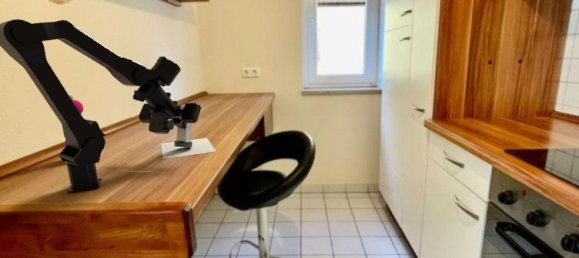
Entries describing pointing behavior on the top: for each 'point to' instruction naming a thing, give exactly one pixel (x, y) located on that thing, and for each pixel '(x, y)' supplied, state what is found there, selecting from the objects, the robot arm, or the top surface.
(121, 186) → the top surface
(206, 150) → the felt mat
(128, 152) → the top surface
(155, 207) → the top surface
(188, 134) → the silver and black cylinder
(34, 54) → the robot arm
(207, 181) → the top surface
